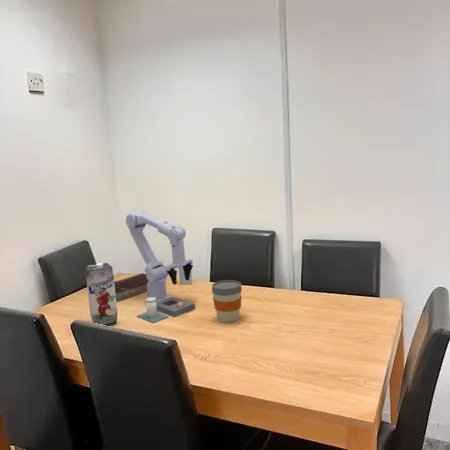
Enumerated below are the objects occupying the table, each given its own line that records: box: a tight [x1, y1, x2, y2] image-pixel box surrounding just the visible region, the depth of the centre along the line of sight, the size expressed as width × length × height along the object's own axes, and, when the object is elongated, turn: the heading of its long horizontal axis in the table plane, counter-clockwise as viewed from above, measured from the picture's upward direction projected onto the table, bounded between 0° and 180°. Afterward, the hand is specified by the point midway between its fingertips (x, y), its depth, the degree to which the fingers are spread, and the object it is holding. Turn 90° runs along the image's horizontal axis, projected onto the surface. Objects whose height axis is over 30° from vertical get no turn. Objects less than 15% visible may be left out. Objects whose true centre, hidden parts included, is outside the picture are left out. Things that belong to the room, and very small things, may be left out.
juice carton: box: [85, 262, 118, 326], centre depth 198 cm, size 9×10×27 cm
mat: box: [136, 311, 169, 324], centre depth 205 cm, size 12×8×1 cm, turn 46°
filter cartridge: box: [145, 296, 158, 318], centre depth 204 cm, size 4×4×8 cm
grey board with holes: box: [156, 296, 196, 318], centre depth 213 cm, size 16×12×2 cm
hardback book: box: [114, 273, 148, 303], centre depth 244 cm, size 29×19×5 cm, turn 137°
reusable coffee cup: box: [211, 279, 243, 323], centre depth 197 cm, size 13×13×15 cm
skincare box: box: [178, 267, 193, 285], centre depth 250 cm, size 6×4×12 cm
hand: (181, 282), depth 218 cm, fingers open, 7 cm apart
